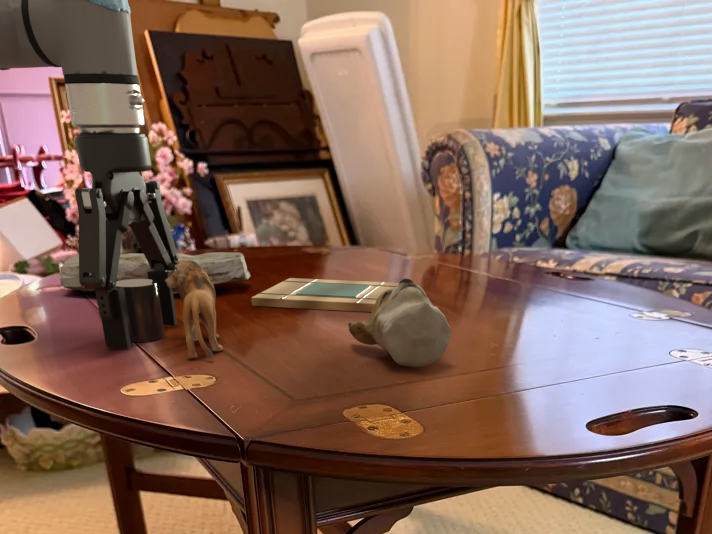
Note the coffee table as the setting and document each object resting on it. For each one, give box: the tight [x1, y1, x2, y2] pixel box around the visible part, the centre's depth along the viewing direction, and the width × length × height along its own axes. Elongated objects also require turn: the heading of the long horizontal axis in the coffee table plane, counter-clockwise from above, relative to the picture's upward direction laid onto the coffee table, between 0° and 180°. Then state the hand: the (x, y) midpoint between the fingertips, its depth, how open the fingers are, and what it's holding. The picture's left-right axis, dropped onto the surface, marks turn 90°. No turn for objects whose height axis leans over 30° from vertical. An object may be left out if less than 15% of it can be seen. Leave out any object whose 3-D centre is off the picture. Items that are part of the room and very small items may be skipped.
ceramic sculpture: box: [348, 278, 452, 368], centre depth 84 cm, size 11×9×15 cm
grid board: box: [251, 277, 400, 313], centre depth 114 cm, size 20×16×1 cm
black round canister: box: [115, 279, 166, 343], centre depth 92 cm, size 5×5×6 cm
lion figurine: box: [165, 259, 224, 359], centre depth 87 cm, size 15×5×9 cm, turn 22°
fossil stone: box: [59, 251, 251, 292], centre depth 118 cm, size 28×15×5 cm, turn 90°
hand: (143, 335), depth 93 cm, fingers open, 11 cm apart
